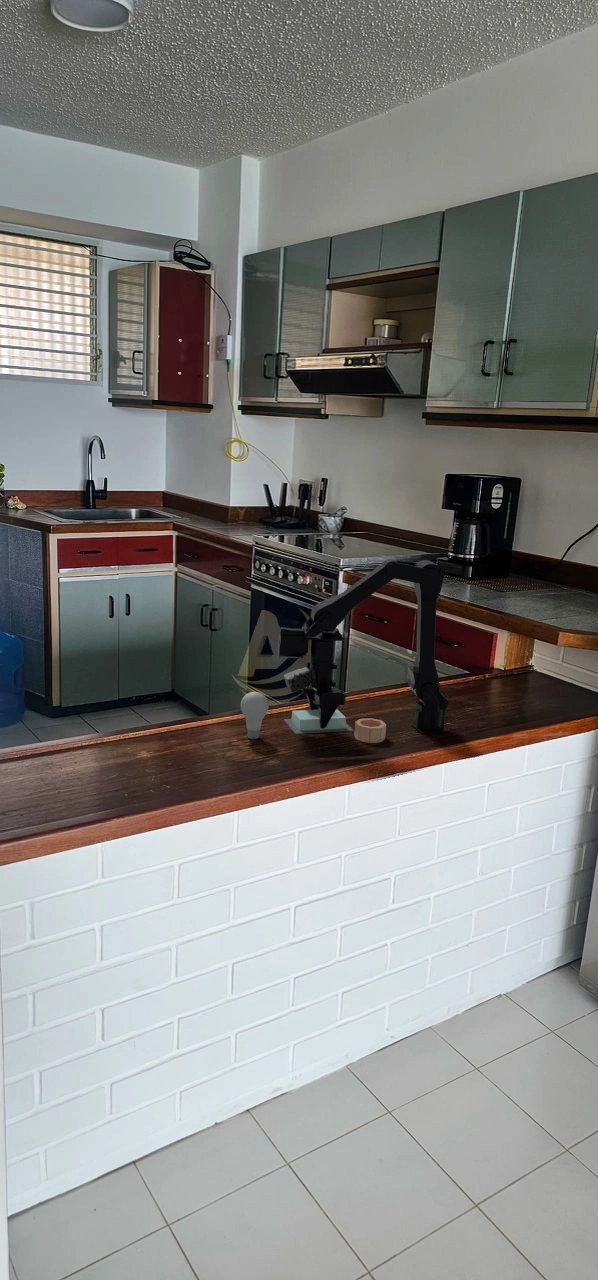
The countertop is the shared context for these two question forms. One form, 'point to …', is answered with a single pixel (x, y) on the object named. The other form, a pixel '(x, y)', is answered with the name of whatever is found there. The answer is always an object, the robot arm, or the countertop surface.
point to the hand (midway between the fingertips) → (318, 723)
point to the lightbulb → (254, 712)
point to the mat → (296, 730)
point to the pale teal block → (316, 720)
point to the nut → (370, 730)
